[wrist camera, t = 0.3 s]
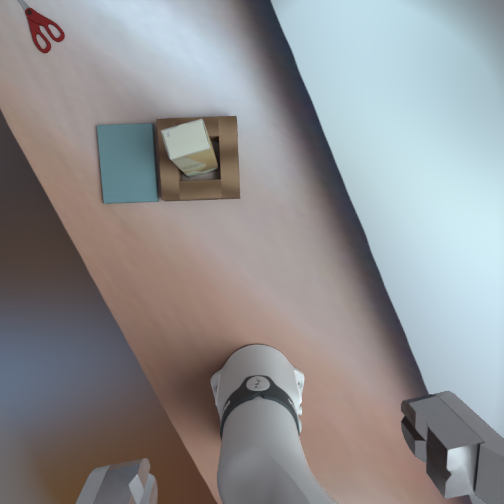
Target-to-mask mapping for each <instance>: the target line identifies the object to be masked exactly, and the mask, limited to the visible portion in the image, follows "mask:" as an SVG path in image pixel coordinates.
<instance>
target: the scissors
mask: <svg viewBox="0 0 504 504" xmlns="http://www.w3.org/2000/svg"><path fill="white" fill-rule="evenodd" d="M18 1H19V2H20V4H21V5H22V7H23V8H24V9H25V13H26V15H27V17H28V18H27V19H28V22H29V26H30V30H31V34H32V38H33V41H34V43H35V45H36V46H37V48H38V49H39V50H40V51H41V52H43V53H48V52H49V51H50V49H51V44H50V42H49V41H48V39H47V38H46V37H45V36H44V35H43V34H42V33H41V31H40V28H39V25H42V26H44V27H45V28H46V30H47V32H48V33H49V35H50V36H51V38H52V39H53V40H55V41H56V42H61V41H62V40H63V39H64V37H65V35H64V32H63V31H62V29H61V28H60V27H59V26H58V25H57V24H56V23H54V22H53V21H51V20H50V19H48V18H46V17H44V16H42V15H41V14H39V13H37V12H36V11H35V10H33V9H32V8H29V6H28V5H27V4H26V3H25V1H24V0H18ZM49 24H52V25H54V26H55V27H56V28H57V29H58V30H59V31H60V33H61V36H60V37H59V38H55V37H54V36H53V34H52V33H51V31H50V29H49V28H48V25H49ZM37 34H39V35H40V36H41V37H42V38H43V39H44V40H45V41H46V43H47V47H46V48H45V49H42V48H41V47H40V45H39V44H38V42H37V39H36V35H37Z"/></svg>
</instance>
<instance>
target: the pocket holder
mask: <svg viewBox="0 0 504 504" xmlns="http://www.w3.org/2000/svg"><path fill="white" fill-rule="evenodd" d="M199 119H203V121H204V124H205V127H206V130H207V132H208V135H209V138H210V141H219V147H220V168H221V180H194V181H182V171H181V170H180V169H179V168H178V167H177V166H176V165H175V164H174V163H173V162H172V161H171V160H170V158H169V155H168V153H167V150H166V146H165V143H164V140H163V136H162V132H161V130H164V129H168V128H171V127H175V126H178V125H181V124H185V123H189V122H192V121H196V120H199ZM157 133H158V147H159V162H160V177H161V191H162V200H164V201H189V200H216V199H240V182H239V158H238V134H237V118H236V116H224V117H197V118H169V119H157Z"/></svg>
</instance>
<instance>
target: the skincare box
mask: <svg viewBox="0 0 504 504" xmlns="http://www.w3.org/2000/svg"><path fill="white" fill-rule="evenodd" d="M161 132H162V136H163V140H164V143H165V146H166V150H167V153H168V155H169V158H170V160H171V161H172V162H173V163H174V164H175V165H176V166H177V167H178V168H179V169H180V170H181V171H183V172H184V173H185V174H186V175H187V176H188V177H193V176H197V175H200V174H204V173H207V172H211V171H214V170H217V169H219V167H218V163H217V159H216V155H215V152H214V149H213V146H212V143H211V141H210V138H209V135H208V132H207V130H206V127H205V124H204V121H203V119H199V120H196V121H192V122H189V123H185V124H181V125H178V126H175V127H171V128H168V129H164V130H161Z"/></svg>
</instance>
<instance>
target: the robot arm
mask: <svg viewBox="0 0 504 504" xmlns="http://www.w3.org/2000/svg"><path fill="white" fill-rule="evenodd" d="M298 382H299V383H298ZM217 385H218V387H217ZM303 385H304V374H303V373H302V372H301V371H300V370H299V369H297V368H295V367H293V366H292V365H291V364H290V363H289V361H288V360H287V359H286V357H285V356H284V355H283V354H282V353H281V352H279V351H278V350H276V349H274V348H272V347H269V346H266V345H249V346H246V347H243V348H241V349H239V350H237V351H236V352H235V353H233V354H232V355H231V356H230V357H229V359H228V360H227V362H226V363H225V365H224V366H223V368H222V369H220V370H219V371H217V372H216V373H215V374H214V375H213V376H212V377H211V387H212V391H213V394H214V398H215V402H216V406H217V409H218V413H219V417H220V421H221V422H220V427H221V429H220V436H221V449H220V456H219V464H218V471H217V485H218V491H219V495H220V497H221V500H222V502H223V504H338V503H337V502H336V501H335V500H334V499H333V498H332V497H331V496H330V495H329V494H328V493H327V492H326V491H325V490H324V489H323V488H322V486H321V485H320V484H319V483H318V481H317V480H316V478H315V477H314V476H313V474H312V472H311V470H310V468H309V466H308V464H307V461H306V458H305V455H304V452H303V449H302V446H301V442H300V438H299V434H300V432H301V420H300V419H299V418H298V415H302V407H301V406H300V403H301V402H302V399H301V396H302V390H303ZM401 411H402V412H403V413H404V415H405V416H404V418H403V419H402V421H401V429H402V432H403V435H404V438H405V441H406V443H407V444H408V446H409V448H410V450H411V451H412V452H413V454H414V455H415V457H417V458H418V459H420V460H422V461H423V462H425V463H426V473H427V474H428V476H429V477H430V478H431V480H432V481H433V483H434V484H435V486H436V487H437V488H438V490H439V491H440V493H441V494H442V496H443V497H444V498H445V499H447V498H452V497H457V496H462V495H467V494H472V493H475V495H476V496H477V497H478V498H480V499H481V500H482V501H484V502H485V503H486V504H504V438H502V437H501V436H500V435H499V434H498V433H497V432H496V431H494V429H492V428H491V427H490V426H489V425H488V424H487V423H486V422H485V421H484V420H482V419H481V418H480V417H479V416H478V415H477V414H476V413H475V412H474V411H473V410H472V409H470V408H469V407H468V406H467V405H466V404H465V403H464V402H463V401H462V400H460V399H459V398H458V397H457V396H456V395H455V394H454V393H452V392H450V391H445V392H440V393H436V394H429V395H425V396H421V397H417V398H413V399H408V400H404V401H403V402H402V403H401ZM150 467H151V466H150V463H149V461H148V459H147V458H145V459H140V460H134V461H129V462H124V463H119V464H114V465H108V466H104V467H99V468H95V469H94V470H93V471H92V472H91V473H90V475H89V476H88V478H87V480H86V483H85V485H84V487H83V489H82V491H81V493H80V495H79V497H78V499H77V502H76V503H75V504H157V495H158V489H157V482H156V479H155V476H153V475H151V474H150V473H149V470H150Z"/></svg>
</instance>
